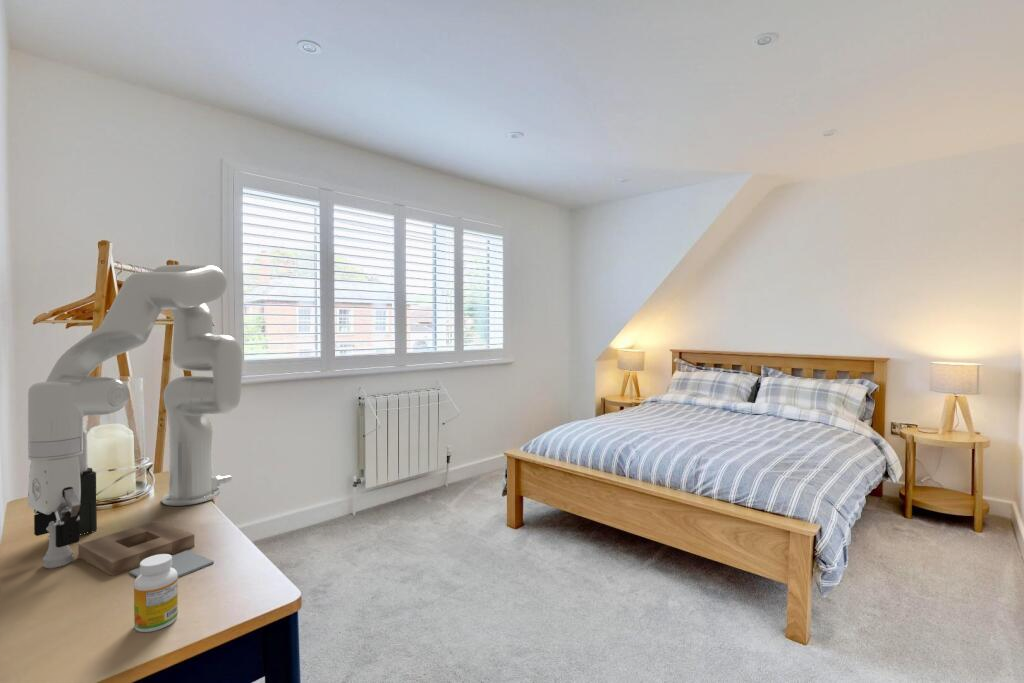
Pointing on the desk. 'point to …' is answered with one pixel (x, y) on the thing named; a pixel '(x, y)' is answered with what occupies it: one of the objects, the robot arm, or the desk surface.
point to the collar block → (134, 546)
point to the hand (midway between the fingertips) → (56, 538)
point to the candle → (87, 493)
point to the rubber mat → (184, 563)
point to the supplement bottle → (155, 594)
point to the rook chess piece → (56, 550)
